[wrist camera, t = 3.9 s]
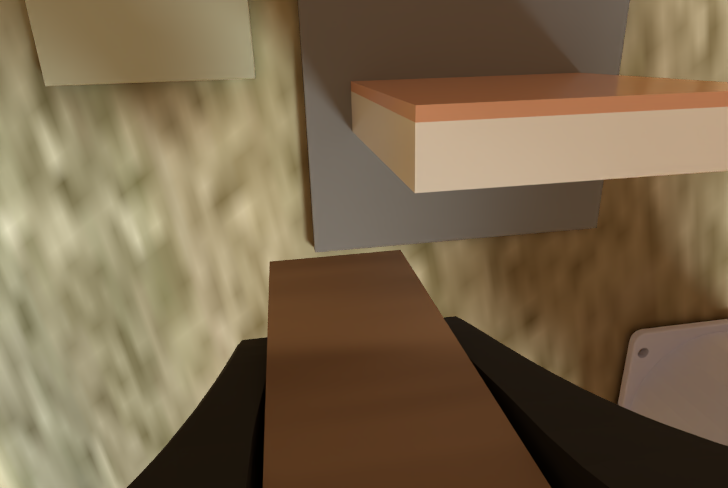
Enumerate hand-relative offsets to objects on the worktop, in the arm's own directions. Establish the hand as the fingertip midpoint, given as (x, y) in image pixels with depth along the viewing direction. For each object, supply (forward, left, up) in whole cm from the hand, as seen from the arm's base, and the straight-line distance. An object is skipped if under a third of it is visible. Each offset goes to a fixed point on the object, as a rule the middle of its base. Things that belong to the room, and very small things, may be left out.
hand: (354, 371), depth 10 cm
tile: (+4, -5, -9) cm, 11 cm away
